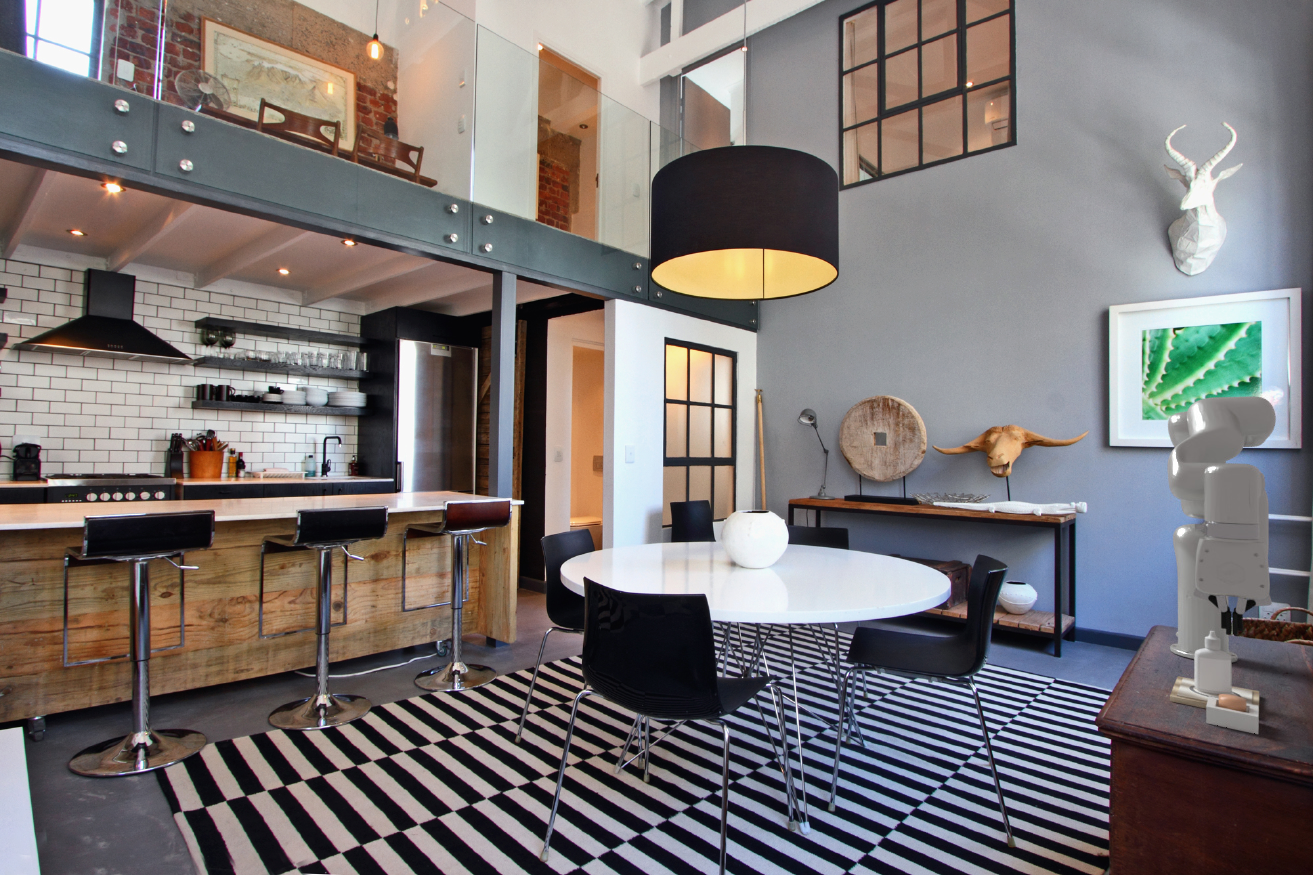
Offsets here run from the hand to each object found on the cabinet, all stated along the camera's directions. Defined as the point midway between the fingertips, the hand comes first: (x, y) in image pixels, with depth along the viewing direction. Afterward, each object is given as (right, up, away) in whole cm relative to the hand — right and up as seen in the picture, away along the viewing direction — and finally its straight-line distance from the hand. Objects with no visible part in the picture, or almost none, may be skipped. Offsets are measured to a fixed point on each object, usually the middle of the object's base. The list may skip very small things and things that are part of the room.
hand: (1232, 633), depth 122 cm
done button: (0, -14, 0) cm, 14 cm away
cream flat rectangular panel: (+7, -16, +12) cm, 21 cm away
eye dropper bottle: (+7, -15, +12) cm, 21 cm away
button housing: (0, -16, 0) cm, 16 cm away
